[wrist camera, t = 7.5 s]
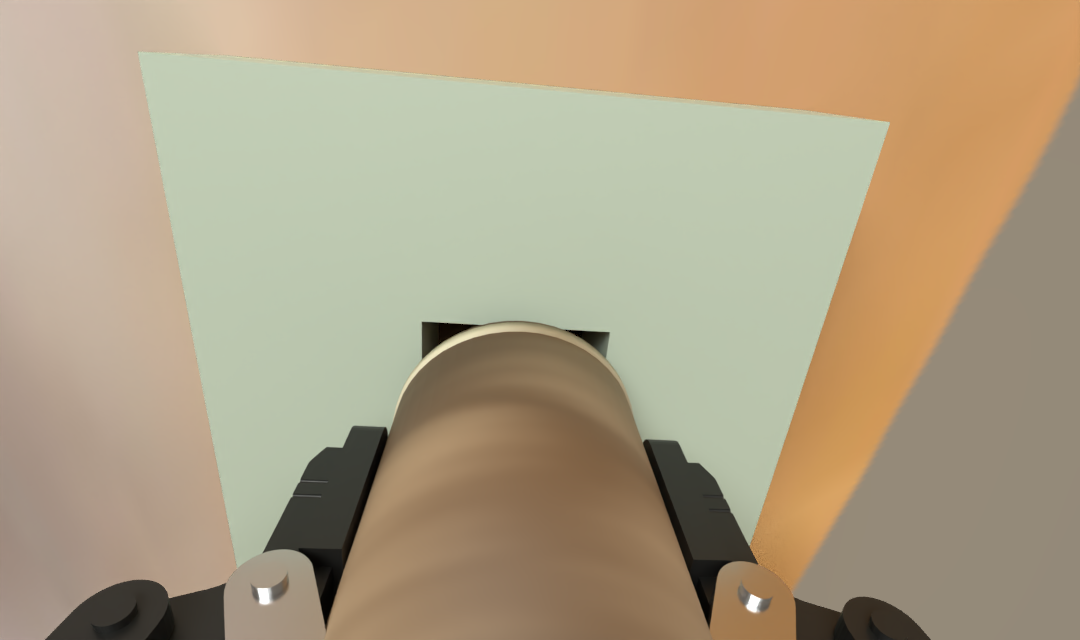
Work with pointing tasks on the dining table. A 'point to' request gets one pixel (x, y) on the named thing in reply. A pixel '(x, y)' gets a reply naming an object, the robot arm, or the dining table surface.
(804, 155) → the socket block
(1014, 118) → the dining table surface
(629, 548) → the peg
